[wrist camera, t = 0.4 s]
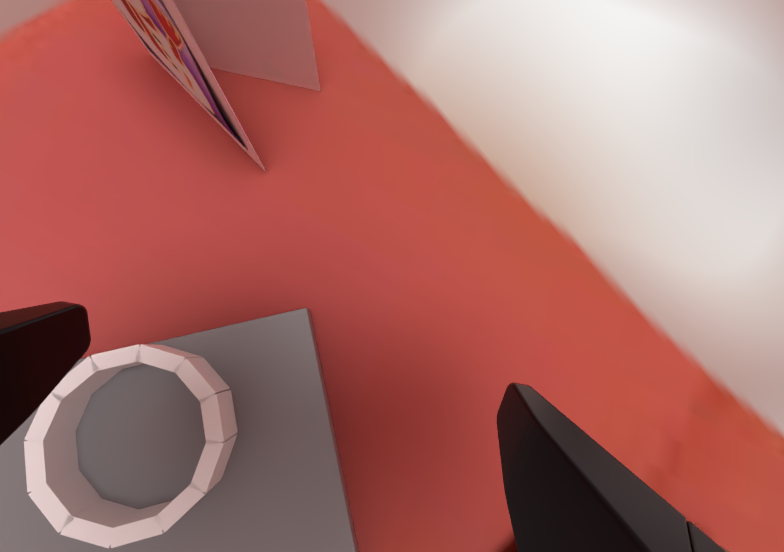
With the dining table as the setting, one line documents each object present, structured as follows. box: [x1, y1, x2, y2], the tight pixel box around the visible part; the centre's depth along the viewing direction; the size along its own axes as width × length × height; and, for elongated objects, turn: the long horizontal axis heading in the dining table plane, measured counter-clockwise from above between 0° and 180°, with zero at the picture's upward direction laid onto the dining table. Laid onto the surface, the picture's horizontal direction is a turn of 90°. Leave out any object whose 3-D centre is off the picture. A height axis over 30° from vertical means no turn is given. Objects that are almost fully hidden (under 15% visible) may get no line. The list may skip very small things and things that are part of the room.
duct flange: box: [0, 308, 359, 552], centre depth 18 cm, size 19×18×4 cm
